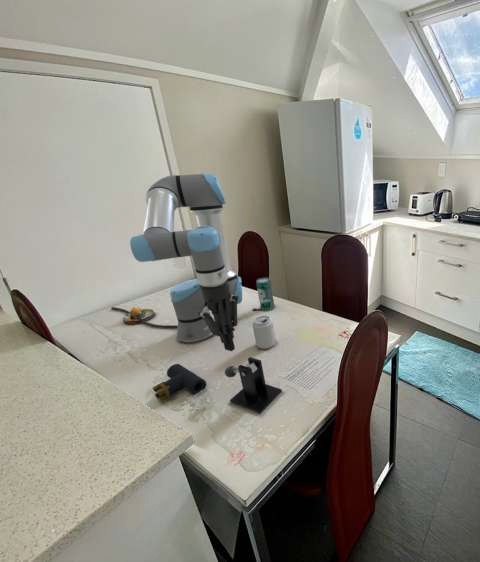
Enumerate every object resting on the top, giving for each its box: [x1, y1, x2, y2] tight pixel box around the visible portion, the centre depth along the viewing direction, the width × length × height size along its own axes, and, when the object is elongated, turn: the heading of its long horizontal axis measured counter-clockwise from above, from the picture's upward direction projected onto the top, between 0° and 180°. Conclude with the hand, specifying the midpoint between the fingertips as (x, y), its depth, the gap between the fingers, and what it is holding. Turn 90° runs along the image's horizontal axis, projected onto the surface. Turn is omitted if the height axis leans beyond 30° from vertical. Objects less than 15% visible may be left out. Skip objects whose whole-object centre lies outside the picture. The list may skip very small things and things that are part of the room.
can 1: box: [255, 277, 275, 312], centre depth 152 cm, size 6×6×15 cm
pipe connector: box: [152, 363, 207, 403], centre depth 102 cm, size 12×5×15 cm
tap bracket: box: [229, 356, 283, 415], centre depth 97 cm, size 12×10×14 cm
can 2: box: [252, 315, 277, 350], centre depth 124 cm, size 8×8×12 cm
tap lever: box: [224, 362, 258, 378], centre depth 97 cm, size 13×4×4 cm, turn 65°
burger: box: [122, 306, 155, 325], centre depth 146 cm, size 12×12×8 cm
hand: (230, 349), depth 100 cm, fingers closed
